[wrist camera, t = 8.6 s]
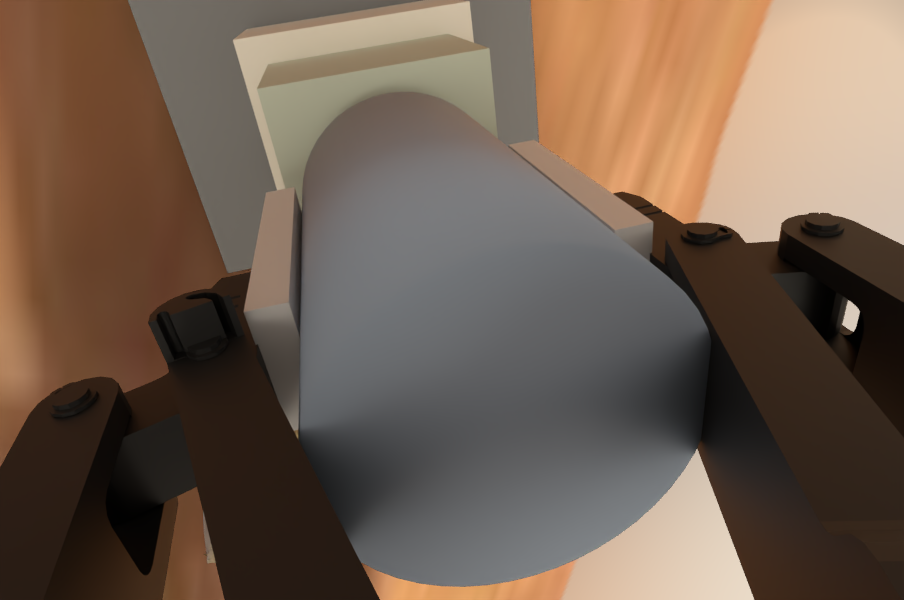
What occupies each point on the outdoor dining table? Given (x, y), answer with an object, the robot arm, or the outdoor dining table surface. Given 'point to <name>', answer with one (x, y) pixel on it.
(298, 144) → the tower top
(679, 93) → the outdoor dining table surface
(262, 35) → the tower base
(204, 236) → the outdoor dining table surface
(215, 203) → the mat
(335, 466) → the grey rounded cylinder
